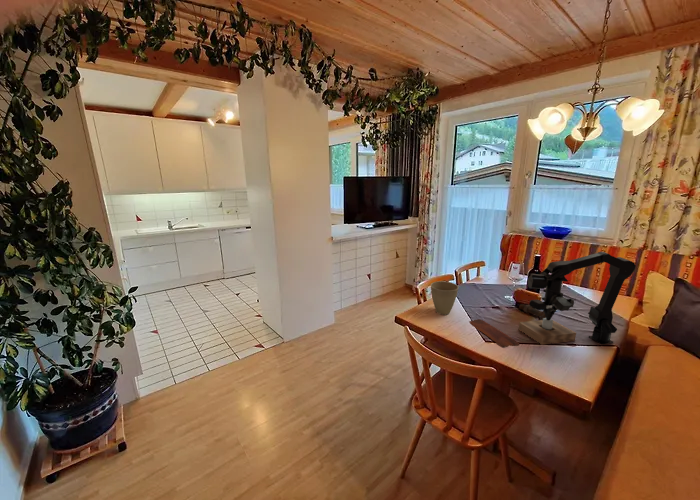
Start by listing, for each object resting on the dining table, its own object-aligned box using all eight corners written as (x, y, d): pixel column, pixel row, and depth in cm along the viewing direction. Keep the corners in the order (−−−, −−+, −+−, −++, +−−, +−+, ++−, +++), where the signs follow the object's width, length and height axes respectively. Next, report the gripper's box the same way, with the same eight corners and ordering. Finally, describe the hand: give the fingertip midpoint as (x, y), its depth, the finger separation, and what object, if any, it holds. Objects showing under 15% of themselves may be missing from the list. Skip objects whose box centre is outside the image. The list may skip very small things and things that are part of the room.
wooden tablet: (521, 346, 131) (521, 343, 131) (502, 349, 129) (503, 346, 129) (482, 319, 157) (482, 316, 156) (465, 321, 154) (466, 319, 154)
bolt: (520, 312, 168) (546, 322, 154) (515, 309, 166) (541, 319, 152) (525, 303, 168) (551, 312, 154) (520, 300, 166) (546, 309, 152)
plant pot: (434, 304, 175) (435, 279, 171) (459, 310, 167) (461, 284, 163) (425, 313, 163) (426, 287, 159) (451, 320, 155) (454, 292, 151)
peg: (545, 332, 142) (548, 317, 140) (552, 336, 138) (555, 321, 136) (538, 333, 141) (540, 318, 139) (545, 337, 137) (548, 322, 135)
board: (549, 326, 148) (550, 319, 147) (574, 340, 134) (576, 332, 133) (518, 329, 145) (519, 322, 144) (541, 344, 131) (542, 336, 130)
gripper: (550, 297, 125) (545, 330, 128) (586, 294, 128) (580, 326, 132) (530, 288, 135) (526, 318, 139) (564, 285, 139) (559, 315, 142)
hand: (548, 319), depth 138 cm, fingers closed, pressing on peg
